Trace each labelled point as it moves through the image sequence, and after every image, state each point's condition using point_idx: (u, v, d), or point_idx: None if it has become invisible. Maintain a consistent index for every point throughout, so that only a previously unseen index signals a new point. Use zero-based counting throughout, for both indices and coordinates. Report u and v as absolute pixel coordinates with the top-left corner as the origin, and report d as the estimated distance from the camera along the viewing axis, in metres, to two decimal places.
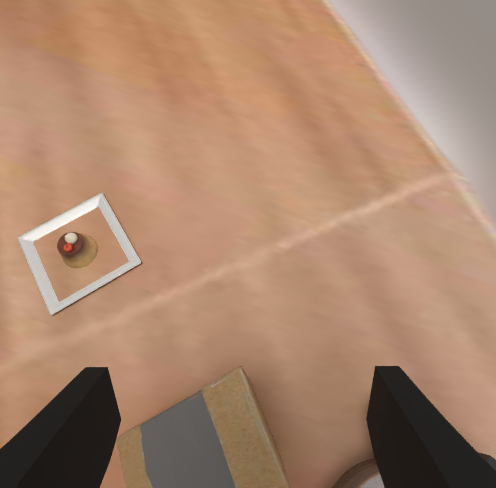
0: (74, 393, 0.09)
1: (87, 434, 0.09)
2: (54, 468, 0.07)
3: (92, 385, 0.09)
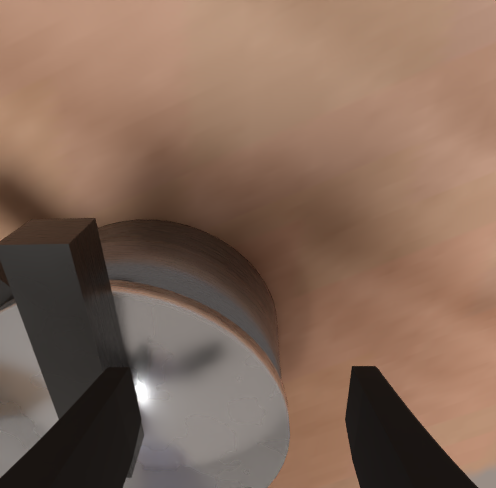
0: (99, 393, 0.09)
1: (112, 434, 0.09)
2: (83, 468, 0.07)
3: (116, 385, 0.09)
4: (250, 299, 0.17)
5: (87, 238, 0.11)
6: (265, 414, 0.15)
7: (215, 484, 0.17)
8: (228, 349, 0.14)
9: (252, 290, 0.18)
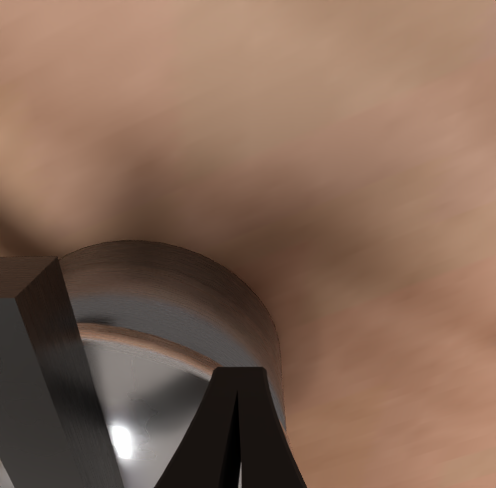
0: (223, 393, 0.09)
1: (236, 434, 0.09)
2: (227, 469, 0.07)
3: (237, 385, 0.09)
4: (250, 334, 0.15)
5: (45, 284, 0.09)
6: None
7: None
8: None
9: (252, 322, 0.16)
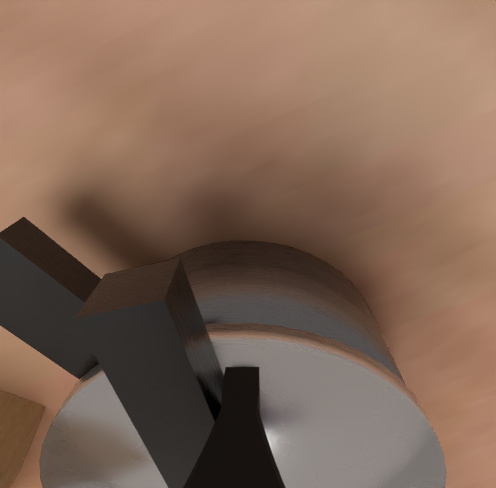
0: (245, 393, 0.09)
1: None
2: None
3: (258, 385, 0.09)
4: (377, 334, 0.15)
5: (178, 285, 0.09)
6: (413, 452, 0.12)
7: None
8: (361, 384, 0.11)
9: (372, 322, 0.16)
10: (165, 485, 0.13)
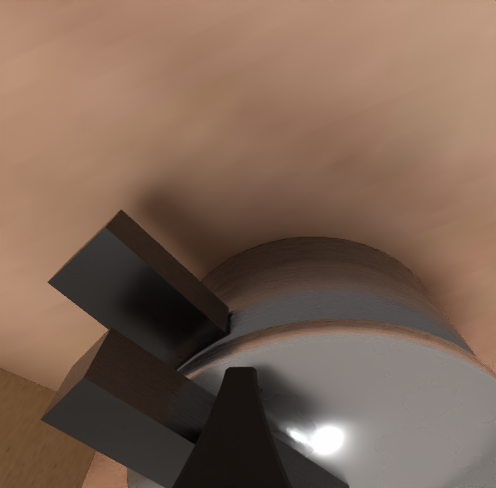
0: (237, 393, 0.09)
1: None
2: None
3: (250, 385, 0.09)
4: None
5: (112, 352, 0.10)
6: (457, 391, 0.11)
7: None
8: (346, 352, 0.10)
9: None
10: None
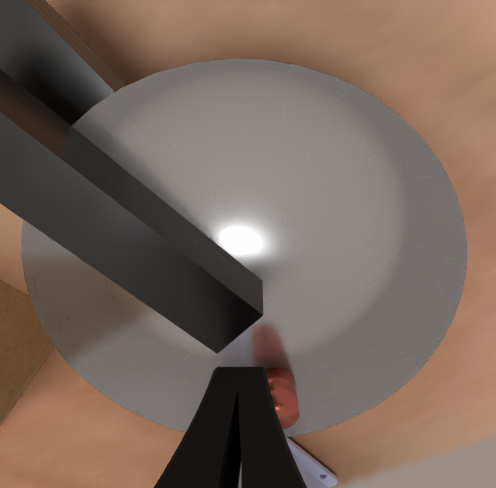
0: (223, 393, 0.09)
1: (236, 434, 0.09)
2: (227, 469, 0.07)
3: (237, 385, 0.09)
4: None
5: None
6: (362, 133, 0.10)
7: (398, 288, 0.12)
8: (232, 77, 0.09)
9: None
10: (164, 318, 0.13)
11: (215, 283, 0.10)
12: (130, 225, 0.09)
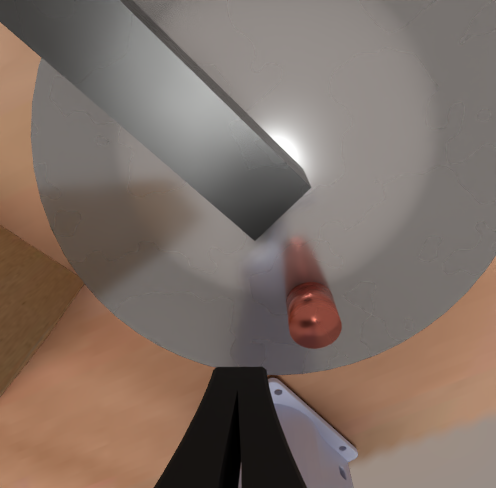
0: (223, 393, 0.09)
1: (236, 434, 0.09)
2: (227, 469, 0.07)
3: (237, 385, 0.09)
4: None
5: None
6: None
7: (456, 178, 0.11)
8: None
9: None
10: (190, 218, 0.11)
11: (257, 143, 0.09)
12: (162, 61, 0.08)
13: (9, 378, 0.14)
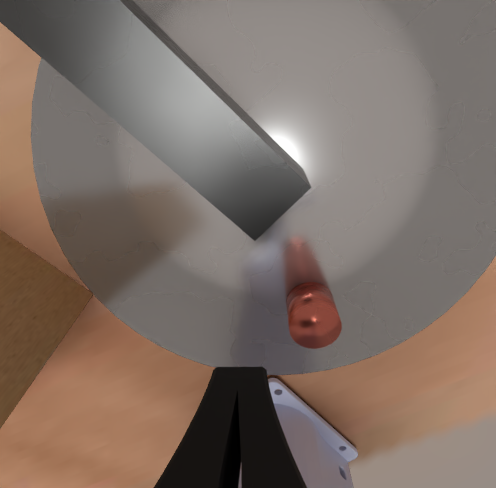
0: (223, 393, 0.09)
1: (236, 434, 0.09)
2: (227, 469, 0.07)
3: (237, 385, 0.09)
4: None
5: None
6: None
7: (456, 178, 0.11)
8: None
9: None
10: (190, 218, 0.11)
11: (257, 143, 0.09)
12: (162, 61, 0.08)
13: (22, 394, 0.15)
